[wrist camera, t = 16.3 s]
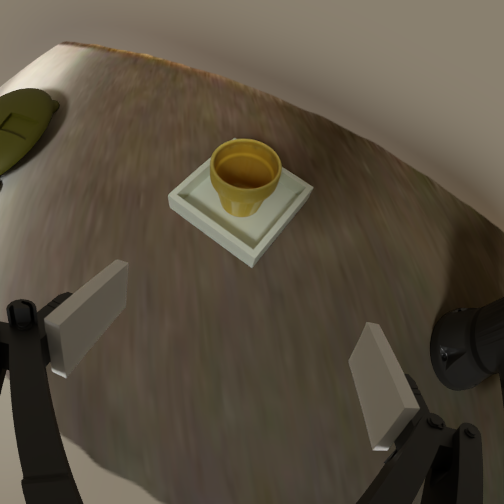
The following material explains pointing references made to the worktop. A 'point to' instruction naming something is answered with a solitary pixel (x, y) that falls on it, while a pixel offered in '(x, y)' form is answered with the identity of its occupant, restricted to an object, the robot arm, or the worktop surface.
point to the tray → (239, 228)
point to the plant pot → (244, 175)
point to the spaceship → (22, 123)
